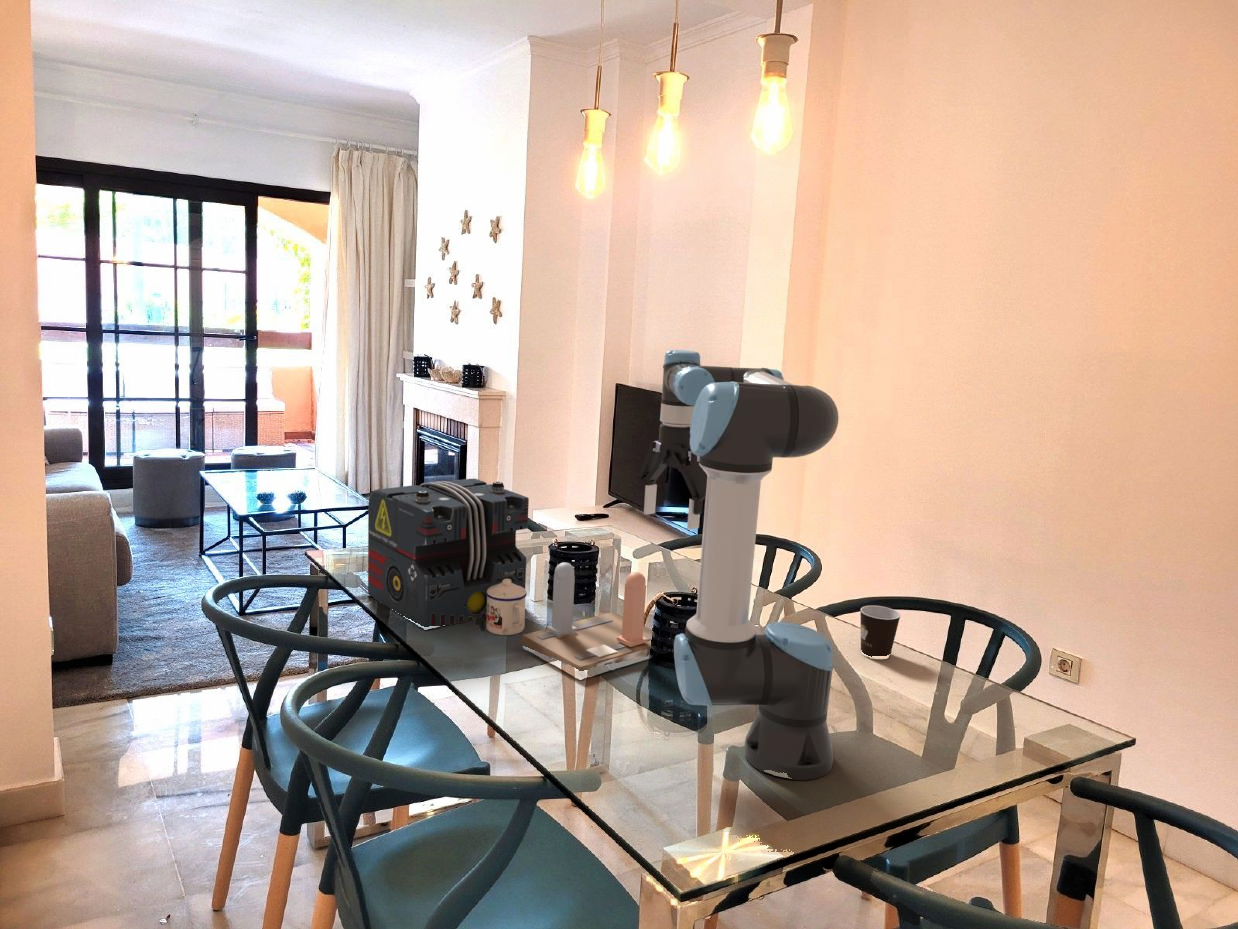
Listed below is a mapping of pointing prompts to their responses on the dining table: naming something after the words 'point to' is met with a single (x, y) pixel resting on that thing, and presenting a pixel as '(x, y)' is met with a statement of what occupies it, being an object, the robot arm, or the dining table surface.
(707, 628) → the robot arm
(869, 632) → the coffee mug
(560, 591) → the grey tall rounded bar
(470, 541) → the power unit
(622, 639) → the pink rounded post
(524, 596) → the teacup with lid
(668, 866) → the dining table surface
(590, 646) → the light wood flat board
